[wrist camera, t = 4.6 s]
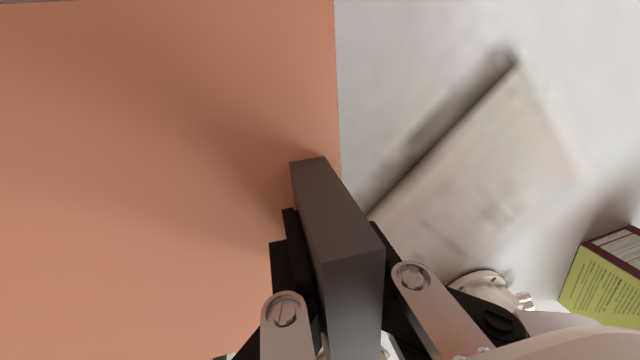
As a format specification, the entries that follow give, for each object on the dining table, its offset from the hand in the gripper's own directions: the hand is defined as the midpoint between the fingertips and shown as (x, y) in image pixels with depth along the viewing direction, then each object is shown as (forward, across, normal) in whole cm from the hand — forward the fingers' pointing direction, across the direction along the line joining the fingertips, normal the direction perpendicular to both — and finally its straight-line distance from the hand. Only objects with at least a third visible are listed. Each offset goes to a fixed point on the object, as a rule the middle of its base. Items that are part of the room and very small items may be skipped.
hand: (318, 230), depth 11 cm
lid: (+2, +10, 0) cm, 10 cm away
